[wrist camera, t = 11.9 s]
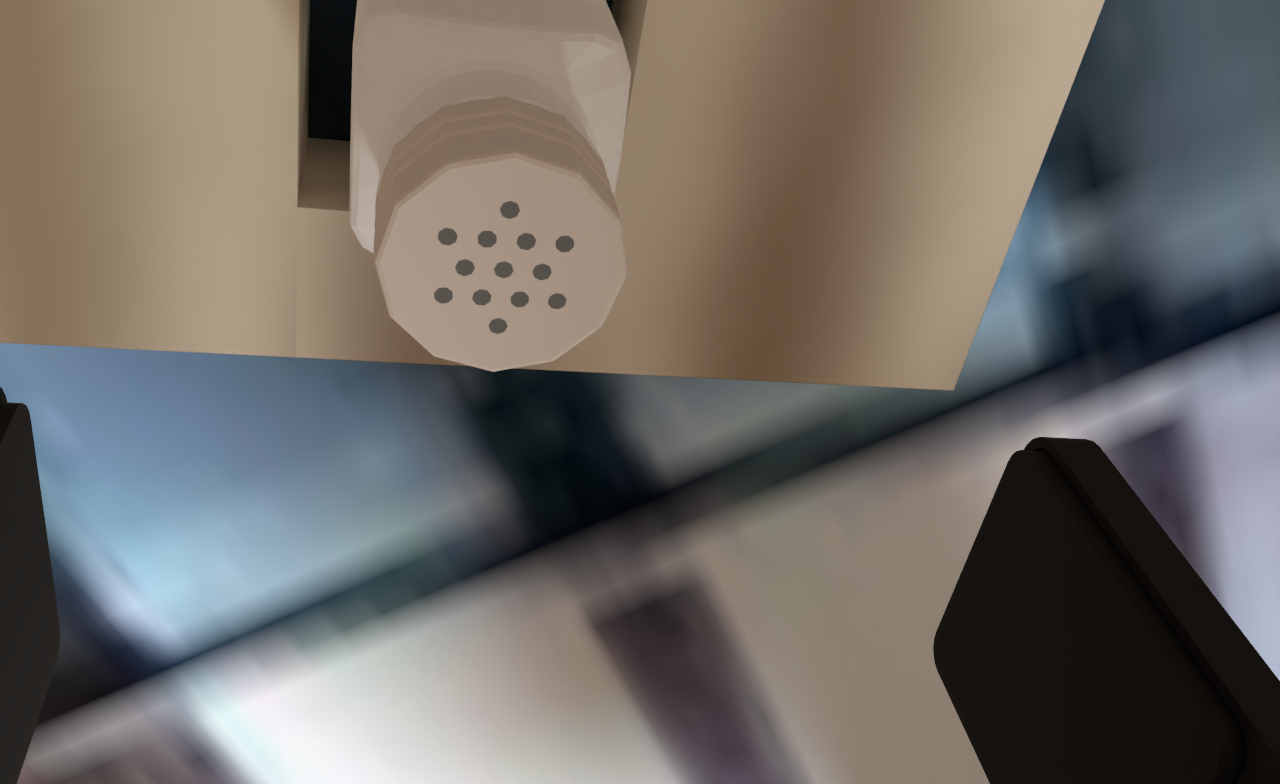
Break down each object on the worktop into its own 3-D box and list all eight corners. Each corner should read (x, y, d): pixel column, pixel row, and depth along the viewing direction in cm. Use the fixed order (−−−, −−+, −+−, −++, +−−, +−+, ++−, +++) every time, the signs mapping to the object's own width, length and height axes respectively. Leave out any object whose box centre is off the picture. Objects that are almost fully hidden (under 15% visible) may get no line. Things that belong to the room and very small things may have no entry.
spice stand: (1100, -243, 22) (1187, -214, 19) (907, 317, 28) (953, 390, 26) (-293, -505, 17) (-409, -510, 14) (-127, 250, 23) (-188, 332, 21)
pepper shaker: (562, 127, 24) (634, 403, 17) (360, 110, 23) (338, 393, 16) (587, -77, 22) (684, 134, 14) (365, -104, 21) (342, 106, 13)
